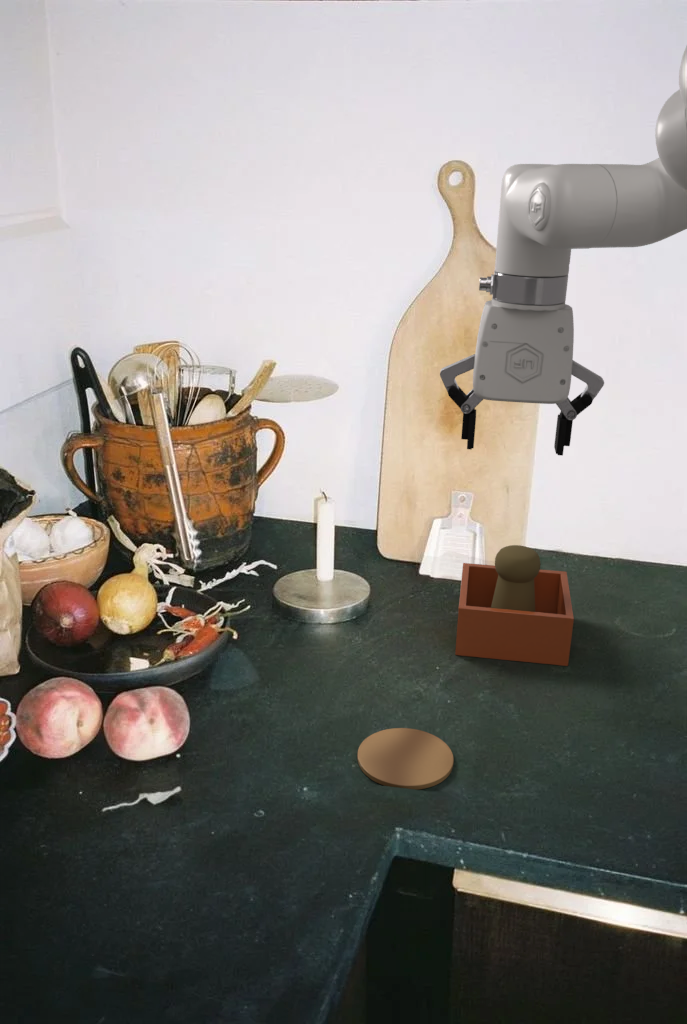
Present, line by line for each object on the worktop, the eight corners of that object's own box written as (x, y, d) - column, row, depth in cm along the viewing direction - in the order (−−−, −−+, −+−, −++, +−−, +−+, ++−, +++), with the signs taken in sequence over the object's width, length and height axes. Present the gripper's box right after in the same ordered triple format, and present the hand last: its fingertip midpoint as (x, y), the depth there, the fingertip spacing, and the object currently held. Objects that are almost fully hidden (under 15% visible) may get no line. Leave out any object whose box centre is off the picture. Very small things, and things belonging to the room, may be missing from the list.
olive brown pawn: (544, 631, 112) (553, 547, 108) (523, 652, 108) (532, 564, 104) (498, 617, 115) (506, 535, 111) (476, 636, 111) (483, 551, 107)
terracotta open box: (561, 615, 116) (566, 571, 114) (568, 666, 105) (574, 618, 103) (459, 606, 118) (463, 562, 116) (455, 655, 107) (458, 608, 104)
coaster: (455, 737, 92) (455, 733, 91) (450, 795, 83) (451, 791, 83) (364, 727, 93) (364, 723, 93) (350, 783, 84) (350, 779, 84)
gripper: (444, 292, 95) (433, 453, 101) (619, 300, 92) (598, 464, 99) (446, 282, 101) (437, 434, 108) (610, 289, 99) (590, 444, 106)
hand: (514, 448), depth 103 cm, fingers open, 9 cm apart
